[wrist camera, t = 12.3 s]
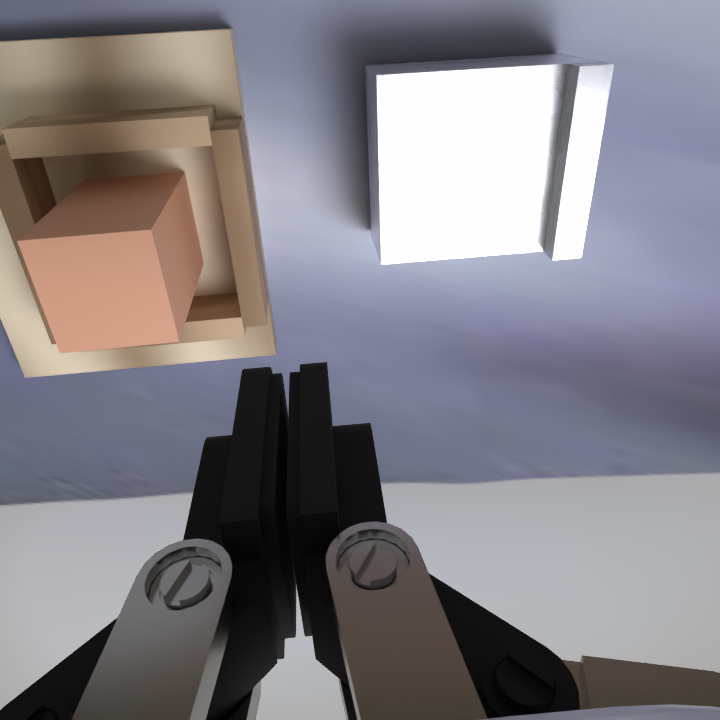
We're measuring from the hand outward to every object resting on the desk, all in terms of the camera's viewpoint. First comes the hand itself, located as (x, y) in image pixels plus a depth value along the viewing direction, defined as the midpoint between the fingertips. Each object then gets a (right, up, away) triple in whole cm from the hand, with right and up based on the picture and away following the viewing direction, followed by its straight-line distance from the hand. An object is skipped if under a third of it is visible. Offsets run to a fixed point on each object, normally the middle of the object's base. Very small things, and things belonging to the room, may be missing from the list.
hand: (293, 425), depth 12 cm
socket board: (-9, +8, +14) cm, 18 cm away
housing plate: (+6, +10, +13) cm, 18 cm away
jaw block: (-8, +7, +13) cm, 17 cm away
